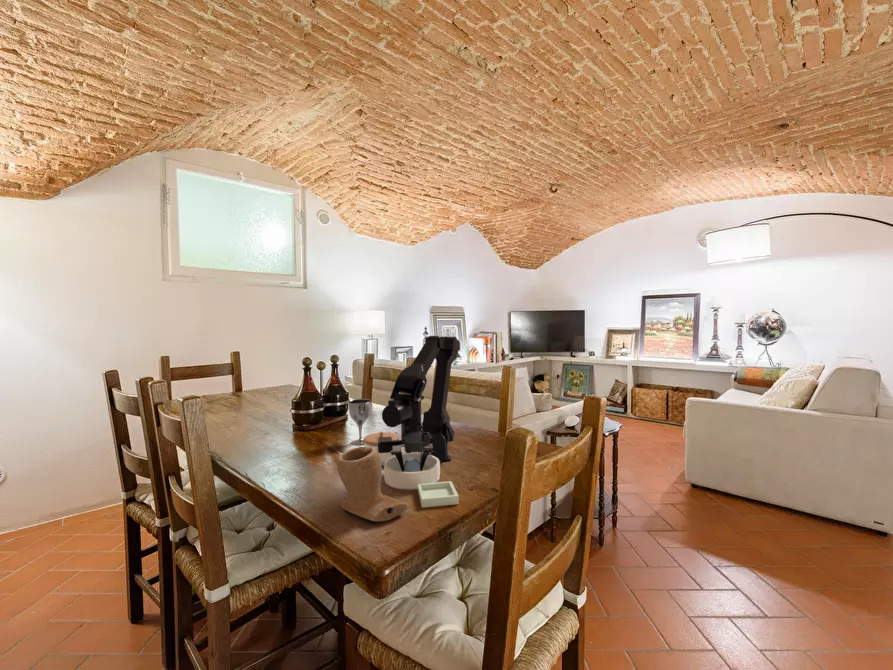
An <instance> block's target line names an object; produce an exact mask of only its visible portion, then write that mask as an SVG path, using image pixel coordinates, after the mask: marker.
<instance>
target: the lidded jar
mask: <svg viewBox="0 0 893 670" xmlns="http://www.w3.org/2000/svg"><path fill="white" fill-rule="evenodd" d="M379 437H392V440H400V438H399V435H398V434H396V433H393V432H385V431H379V432H375V433H369V434H367V435H366V436H365V437H364V438H363V439H364V445H363V447H367V448H370V447H374V448H375V449H376V450H377V451H378V439H379ZM379 455H380V458H381V466H384V462H385V461H386V460H387V459H388V458H391V457H393V456H395V455H391V452H390V453H379Z"/></svg>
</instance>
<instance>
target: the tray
mask: <svg viewBox="0 0 893 670" xmlns="http://www.w3.org/2000/svg"><path fill="white" fill-rule="evenodd" d="M417 486H418V489H417V494H418V497H419V502H420V506H421V509H422V508H431V507H441V506H442V507H444V506H451V505H453V506H454V505H459V503H460V501H459V500H460V497H459V493H458V491H457V490H456V487H455V485H454V483H453V482H452V480H448V481H438V482H436V483H424V484H417Z"/></svg>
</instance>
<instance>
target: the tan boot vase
mask: <svg viewBox="0 0 893 670" xmlns="http://www.w3.org/2000/svg"><path fill="white" fill-rule="evenodd" d="M382 466H383V465H381V458H380V455H379V452H378V451H377V450H376V449H375V448H374V447H370V448H367V447H365V446H359V447H355V448H352V449H349V450H346V451H344V452H342V453H340V455H338V457H337V459H336V469H337V473H338V476H339V478H340V480H341V482H342V485H343V486H344V488H345V490H346V492H347V498H345V499H344V500H343V501H342V502H341V508H343V509H344V510H345V511H346V512H348V513H351V514H353V515H356V516H357V517H360V518H363V519H365V520H367V521H371V522H387V521H390V520H393V519H395V518H396V517H398V516H399V515H401V514H403V513H404V512H405V511H406V510H407V509H408V508H409V504H408V503H407V502H404V501H402V500H399V499H397V498H394V497H392V496H389V495H386V494H383V493H382V491H381V485H382V484H381V483H382V475H383V474H382V473H383V470H382V469H383V468H382Z"/></svg>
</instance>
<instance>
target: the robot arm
mask: <svg viewBox="0 0 893 670" xmlns="http://www.w3.org/2000/svg"><path fill="white" fill-rule="evenodd" d="M460 349H461V342H460V340H459V339H458V338H457V337H456V336H443V335H442V336H441V335H429V336H427V337H425V341H424V344H423V346H422V347H421V349H420V351H419V353H418V354H417V355H416V357H415V359H414V361H413V362H412V363H411V365H409V366H407V367H406V368H404V369H403V370H401V372H400V373H399V374H398V376H397V378H396V380H395V382H394V385H393V388H392V391H391V394H390V399H389V400H387V401H388V402H387V403H388V405H386V406H385V407H384V408H383V410H382V412H381V418H382V421H383V423H384V425H386V426H387V427H389V428H395V427H398V426H400V430H401V431H400V436H401V437H400V439H399V440H392V437H379V439H378V452H379V453H390V452H391V455H395V456H396V458H397V460H398V462H399V464H400V467H401V470H402V472H404V464H403V458H402V454H403V452H402V447H403V448H404V452H405V454H406V453H420V471H422V470H423V467H424V464H425V461H426V458H427V456H428V454H429V455H433V456H435V457H436V458H438V459H439V461H440V462H449V461H452V458H451V456H450V455H449V442H453V441H454V438H455V429H454V428H453V427H452V425H451V424H450V422H451V417H450V415H449V413H448V410H447V403H448V393H449V388H450V387H449V386H450V379H451V372H452V364H453V363H454V362H455V360H457V358H458V356H459V351H460ZM434 361H436V365H435V372H434V380H433V386H432V387H433V388H432V397H431V404H430V407H429V408H428V410H425V411H424V412H423V416H422V400H425V397H424V395H423V392H424V391H425V388H426V385H427V384H428V383H427V382H428V381H427V380H428V379H427V374H428V372H429V370H430V368H431V366H432V364H433V363H434Z"/></svg>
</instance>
